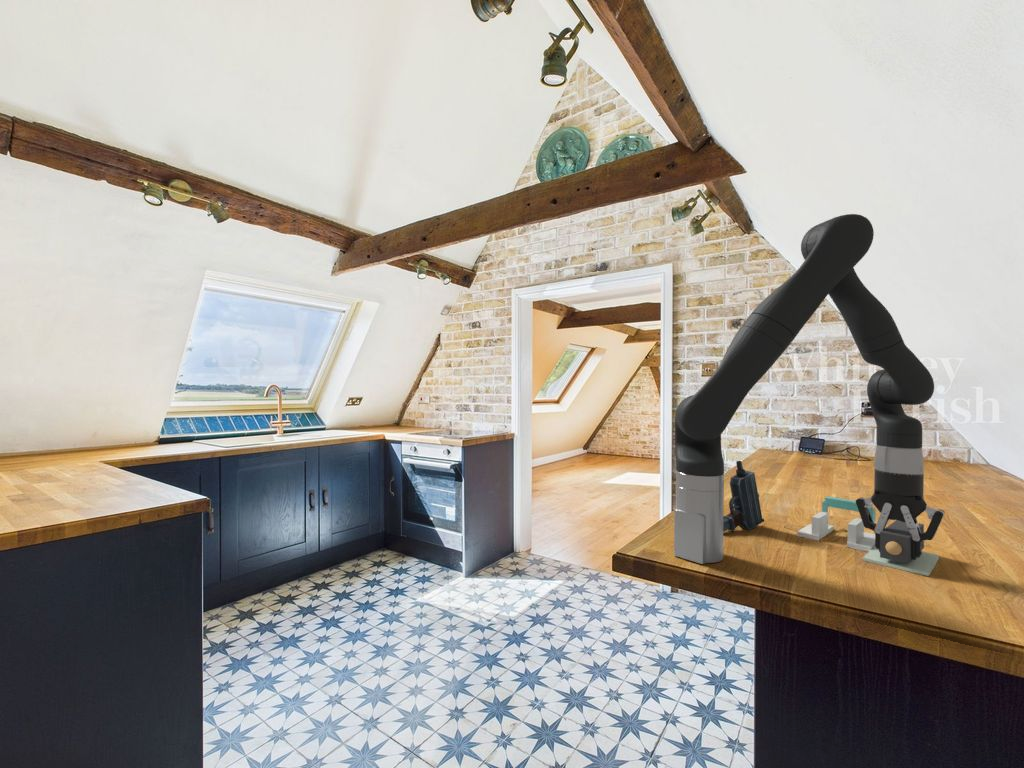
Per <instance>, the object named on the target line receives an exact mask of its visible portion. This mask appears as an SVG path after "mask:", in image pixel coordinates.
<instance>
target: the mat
mask: <svg viewBox="0 0 1024 768" xmlns="http://www.w3.org/2000/svg"><path fill="white" fill-rule="evenodd" d="M939 560H940V554H935V553H931V552H925V551H922V554H921V556H920V557H919V558H918V557H917V559H916V560H912V561H911V562H910V563H909V564H907V563H903V562H898V561H894V560H890V559H885V558H881V557H880V552H879V549H876V547H875V546H874V547H873V548H872V549H871V550H870V551H869V552H867V553H866V554H865V555H863V557H862V562H868V563H871V564H876V565H880V566H884V567H889V568H893V569H898V570H900V571H905V572H910V573H914V574H917V575H922V576H926V577H929V576H930V574H931V573H932V571H933V570H934V568H935V566H936V564H937V563H938V561H939Z"/></svg>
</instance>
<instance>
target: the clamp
mask: <svg viewBox="0 0 1024 768" xmlns="http://www.w3.org/2000/svg"><path fill="white" fill-rule="evenodd" d="M834 530H835V525H831V524H829V512H828V513H827V512H822V511H819V512H817V513H816V514H814V515H813V516H811V523H809V524H807V525H806V526H804V527H803V528H801V529H798V530H797V532H796V536H797V537H800V538H801V537H802V538H805V539H809V540H814V541H815V540H816V541H820V540H821V539H823V538H825V537H826V536H827V535H829V534H831V533H832V532H833V531H834ZM864 530H865V527H864V525H863V522H862V519H861V518H859V517H856V518H854V519H852V520H851V521H850V522H848V523H847V542H846V547H847V548H849V549H854V550H858V551H863V552H867V553H868V552H869V551H870V550H871V549H872V548H873V547H874V546H875V533H871V532H865V531H864Z"/></svg>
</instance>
